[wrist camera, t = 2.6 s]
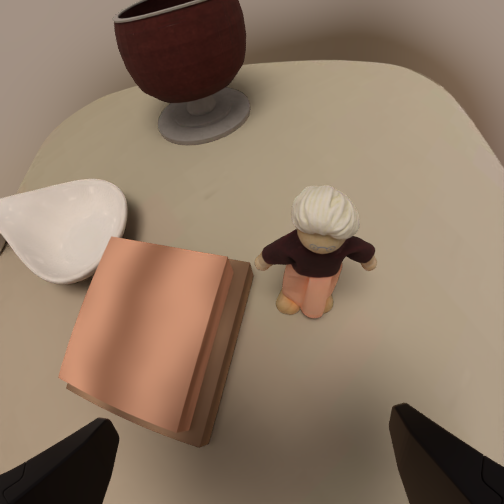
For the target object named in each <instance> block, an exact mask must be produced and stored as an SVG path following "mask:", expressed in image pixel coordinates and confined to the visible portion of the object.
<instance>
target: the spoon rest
mask: <svg viewBox="0 0 504 504" xmlns="http://www.w3.org/2000/svg"><path fill="white" fill-rule="evenodd" d="M127 216H128V207H127V201H126V197H125V195H124V193H123V192H122V191H121V189H120V188H119V187H117V186H116V185H115V184H113V183H111V182H108V181H105V180H100V179H83V180H76V181H71V182H66V183H62V184H57V185H53V186H49V187H45V188H41V189H37V190H32V191H29V192H25V193H21V194H16V195H12V196H9V197H4V198H1V199H0V252H1V250H2V248H3V246H4V244H5V241H7V242H8V244H9V245H10V246H11V248H12V249H13V250H14V252H15V253H16V254H17V256H18V257H19V258H20V259H21V261H22V262H23V263H24V264H25V265H26V266H27V267H28V268H29V269H30V270H31V271H32V272H33V273H34V274H36V275H37V276H38V277H40V278H42V279H44V280H46V281H48V282H51V283H55V284H72V283H76V282H79V281H82V280H84V279H86V278H88V277H90V276H92V275H93V274H95V272H96V269H97V267H98V265H99V262H100V260H101V258H102V255H103V253H104V251H105V249H106V247H107V244H108V242H109V240H110V238H111V236H112V237H118V238H122V236H123V234H124V231H125V227H126V223H127Z"/></svg>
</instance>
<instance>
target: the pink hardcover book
mask: <svg viewBox="0 0 504 504" xmlns="http://www.w3.org/2000/svg"><path fill="white" fill-rule="evenodd" d="M252 280H253V272H252V268H251V265H250V263H249V262H243V261H238V260H232V259H228V257H226V256H220V255H214V254H208V253H203V252H197V251H191V250H185V249H180V248H174V247H168V246H163V245H157V244H151V243H146V242H140V241H135V240H129V239H123V238H118V237H112V236H111V238H110V240H109V242H108V244H107V247H106V249H105V251H104V253H103V255H102V258H101V260H100V262H99V265H98V267H97V269H96V272H95V274H94V276H93V279H92V281H91V284H90V286H89V289H88V291H87V294H86V296H85V299H84V301H83V304H82V307H81V309H80V312H79V315H78V318H77V320H76V323H75V326H74V329H73V332H72V335H71V338H70V341H69V344H68V347H67V350H66V353H65V356H64V360H63V363H62V366H61V370H60V373H59V377H58V378H60V379H62V380H64V381H65V382H67V387H66V388H67V389H68V390H70V391H72V392H74V393H75V394H77V395H79V396H81V397H82V398H84V399H86V400H88V401H90V402H92V403H94V404H96V405H98V406H99V407H101V408H103V409H105V410H107V411H110V412H112V413H114V414H116V415H118V416H120V417H122V418H124V419H126V420H129V421H131V422H133V423H135V424H138V425H140V426H142V427H145V428H147V429H150V430H152V431H155V432H157V433H160V434H162V435H165V436H167V437H170V438H173V439H175V440H178V441H181V442H184V443H187V444H190V445H193V446H196V447H199V448H200V447H202V446H204V445H207V444H209V441H210V437H211V433H212V430H213V426H214V422H215V419H216V415H217V411H218V408H219V404H220V400H221V397H222V393H223V389H224V385H225V382H226V378H227V374H228V371H229V367H230V363H231V359H232V356H233V352H234V348H235V344H236V341H237V337H238V333H239V329H240V326H241V322H242V318H243V314H244V311H245V307H246V303H247V299H248V295H249V292H250V288H251V284H252Z"/></svg>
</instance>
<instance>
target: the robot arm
mask: <svg viewBox="0 0 504 504" xmlns="http://www.w3.org/2000/svg"><path fill="white" fill-rule="evenodd" d="M389 430H390V435H391V439H392V443H393V448H394V453H395V457H396V462H397V466H398V470H399V473H400V476H401V479H402V482H403V485H404V488H405V491H406V494H407V497H408V500H409V503H410V504H504V467H503V466H501V465H500V464H498V463H496V462H494V461H493V460H491V459H490V458H488V457H486V456H483V454H482V453H480V452H479V451H477V450H475V449H474V448H472V447H471V446H469V445H468V444H466V443H465V442H463V441H462V440H460V439H459V438H457V437H456V436H454V435H453V434H451V433H450V432H448V431H447V430H445V429H444V428H442V427H441V426H439V425H438V424H436V423H435V422H433V421H432V420H430V419H429V418H428V417H426V416H425V415H423V414H422V413H420V412H419V411H417V410H416V409H414V408H413V407H412V406H410V405H409V404H407V403H401V404H397V405H394V406H393V407H392V411H391V416H390V421H389ZM118 444H119V435H118V433H117V431H116V429H115V427H114V426H113V424H112V422H111V421H110V420H109V419H106V418H97V419H95V420H94V421H92V422H91V423H89V424H87V425H86V426H84V427H83V428H81V429H79V430H78V431H76V432H75V433H73V434H71V435H70V436H68V437H67V438H65V439H63V440H62V441H60V442H58V443H57V444H55V445H53V446H52V447H50V448H48V449H47V450H45V451H43V452H42V453H40V454H38V455H37V456H35V457H33V458H31V459H30V460H28V461H27V462H24V463H23V464H21V465H19V466H17V467H15V468H14V469H12V470H10V471H8V472H6V473H3V474H1V475H0V504H102V503H103V500H104V497H105V494H106V491H107V488H108V485H109V482H110V479H111V475H112V471H113V467H114V462H115V457H116V453H117V448H118Z"/></svg>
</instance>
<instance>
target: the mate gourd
mask: <svg viewBox="0 0 504 504" xmlns="http://www.w3.org/2000/svg"><path fill="white" fill-rule="evenodd" d="M113 21H114V27H115V35H116V40H117V45H118V49H119V52H120V54H121V57H122V59H123V61H124V64H125V66H126V69H127V70H128V72H129V73H130V75H131V77H132V78H133V80H134V81H135V83H136V84H137V85H138V86H139V88H140V89H141V90H142V91H143V92H145V93H146V94H148V95H150V96H153V97H155V98H157V99H159V100H161V101H164V102H168V103H170V104H169V105H168V106H167V107H166V108H165V109H164V110H163V112H162V113H161V115H160V117H159V120H158V128H159V131H160V133H161V135H162V136H163V137H164V138H165V139H166V140H168V141H170V142H172V143H175V144H180V145H198V144H203V143H208V142H211V141H215V140H218V139H220V138H223V137H225V136H227V135H229V134H230V133H232V132H234V131H235V130H237V129H238V128H239V127H241V126H242V124H243V123H244V122H245V121H246V120H247V118H248V116H249V114H250V103H249V100H248V98H247V96H246V95H245V94H243V93H242V92H240V91H238V90H236V89H233V88H227V87H226V86H228V85H229V84H230V83H231V81H232V80H233V79H234V77H235V76H236V74H237V73H238V71H239V70H240V68H241V67H242V65H243V62H244V58H245V51H246V31H245V24H244V17H243V13H242V9H241V6H240V3H239V1H238V0H141V1H139V2H136V3H134V4H132V5H130V6H128V7H127V8H125V9H123V10H121V11H120V12H119V13H117V14H116V15H115V16H114V17H113Z"/></svg>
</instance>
